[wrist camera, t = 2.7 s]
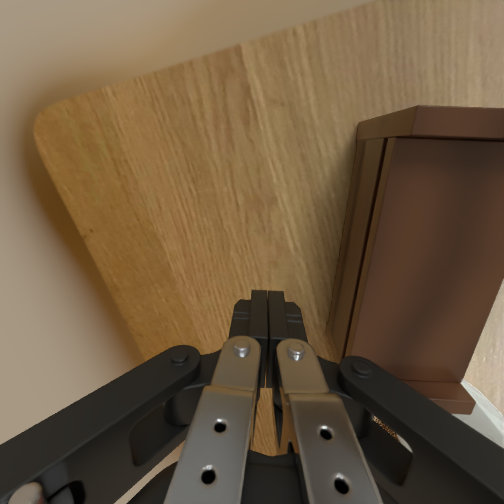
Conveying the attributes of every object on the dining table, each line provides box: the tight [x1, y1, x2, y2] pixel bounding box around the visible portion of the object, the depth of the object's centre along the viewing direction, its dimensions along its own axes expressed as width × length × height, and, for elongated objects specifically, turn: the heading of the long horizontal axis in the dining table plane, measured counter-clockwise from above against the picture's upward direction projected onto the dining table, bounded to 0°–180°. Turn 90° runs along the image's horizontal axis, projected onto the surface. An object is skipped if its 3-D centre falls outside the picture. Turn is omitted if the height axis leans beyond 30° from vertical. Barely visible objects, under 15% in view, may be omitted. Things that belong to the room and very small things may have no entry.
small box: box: [396, 379, 504, 452], centre depth 23 cm, size 8×6×10 cm
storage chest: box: [325, 105, 504, 415], centre depth 19 cm, size 8×18×8 cm, turn 178°
